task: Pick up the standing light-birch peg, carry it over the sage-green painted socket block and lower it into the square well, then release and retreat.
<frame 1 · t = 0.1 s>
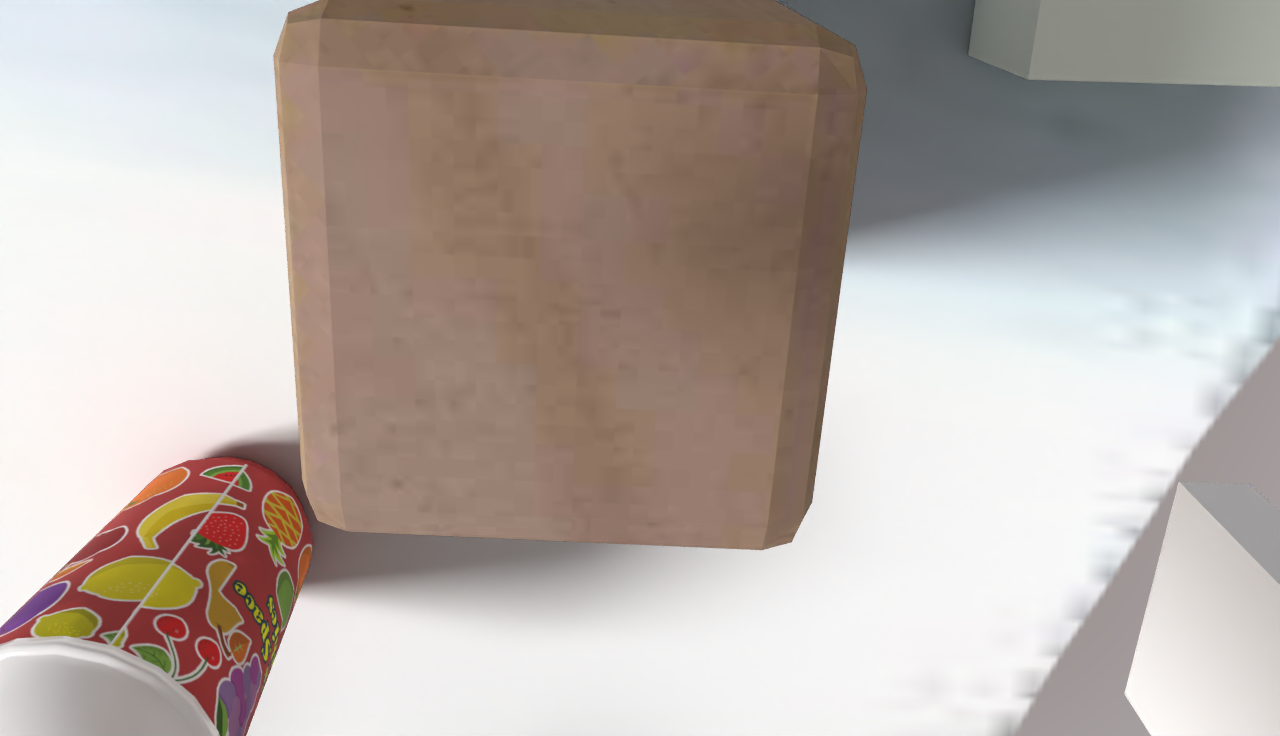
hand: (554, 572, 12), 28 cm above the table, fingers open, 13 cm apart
wooden block: (595, 119, 38), on the table
smoothie: (237, 516, 44), on the table
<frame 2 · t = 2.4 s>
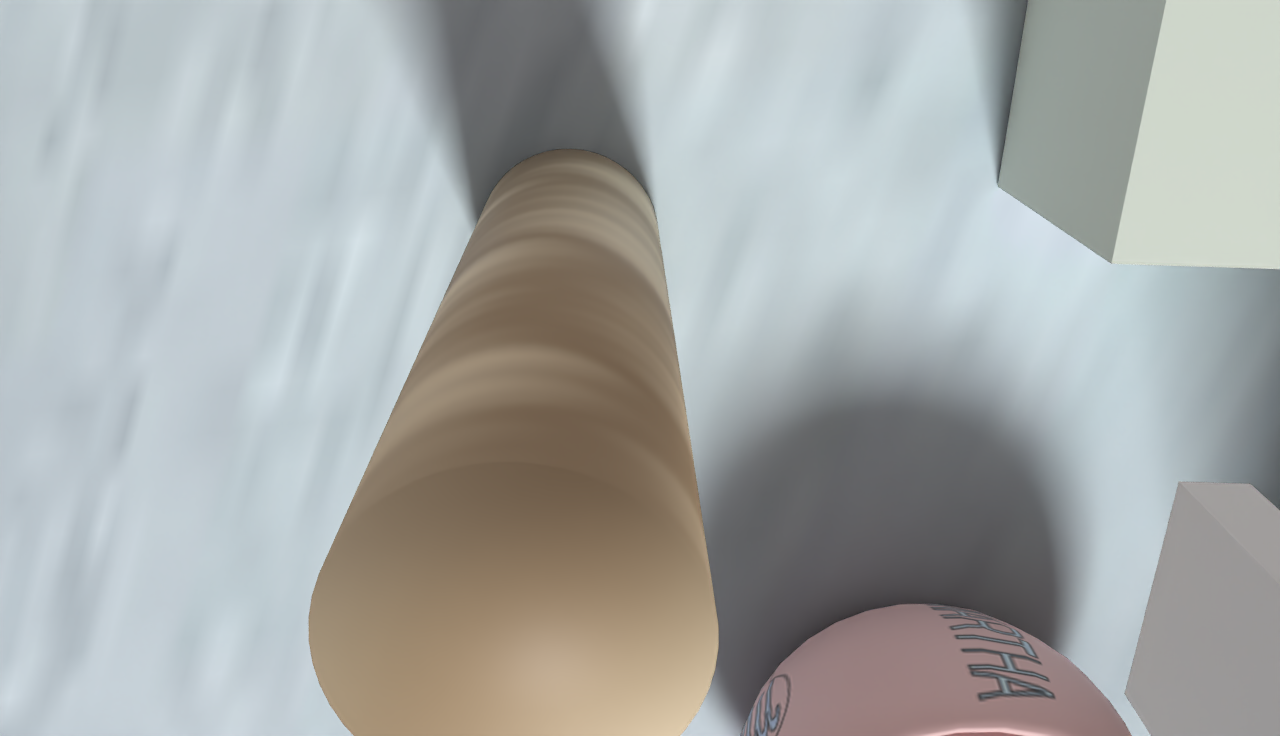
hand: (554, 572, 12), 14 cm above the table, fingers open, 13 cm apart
birch peg: (569, 237, 25), on the table
mug: (886, 734, 30), on the table
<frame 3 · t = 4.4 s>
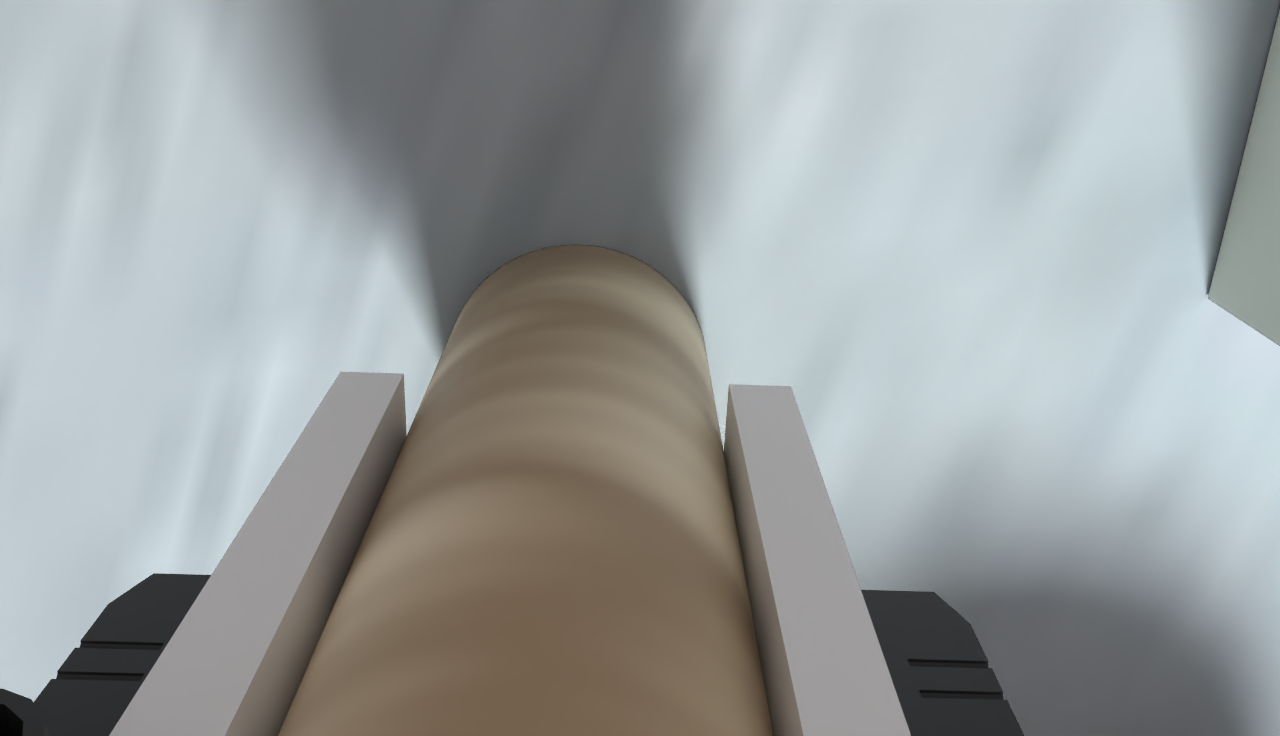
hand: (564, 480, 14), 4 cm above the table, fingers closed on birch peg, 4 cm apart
birch peg: (577, 369, 17), on the table, touching gripper
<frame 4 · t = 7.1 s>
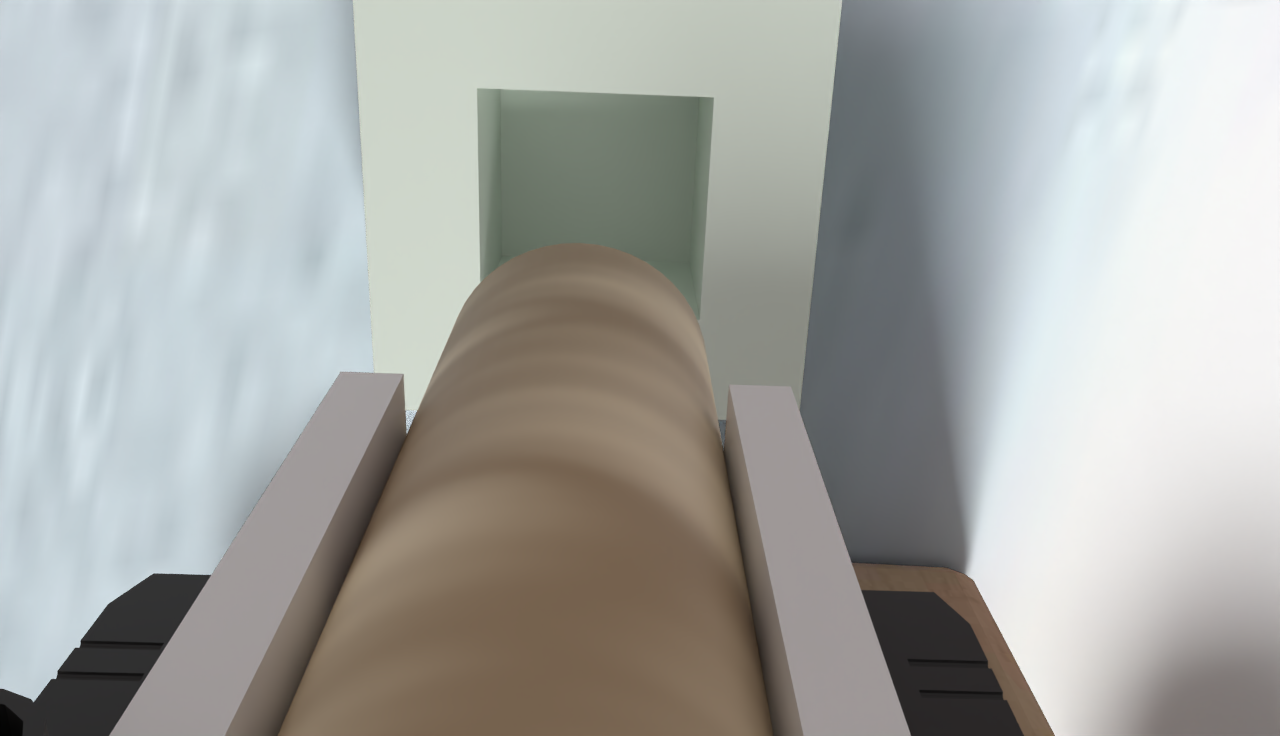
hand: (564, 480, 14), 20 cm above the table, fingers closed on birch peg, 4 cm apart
birch peg: (577, 367, 17), point 16 cm above the table, touching gripper
wooden block: (809, 666, 39), on the table
socket block: (599, 158, 32), on the table
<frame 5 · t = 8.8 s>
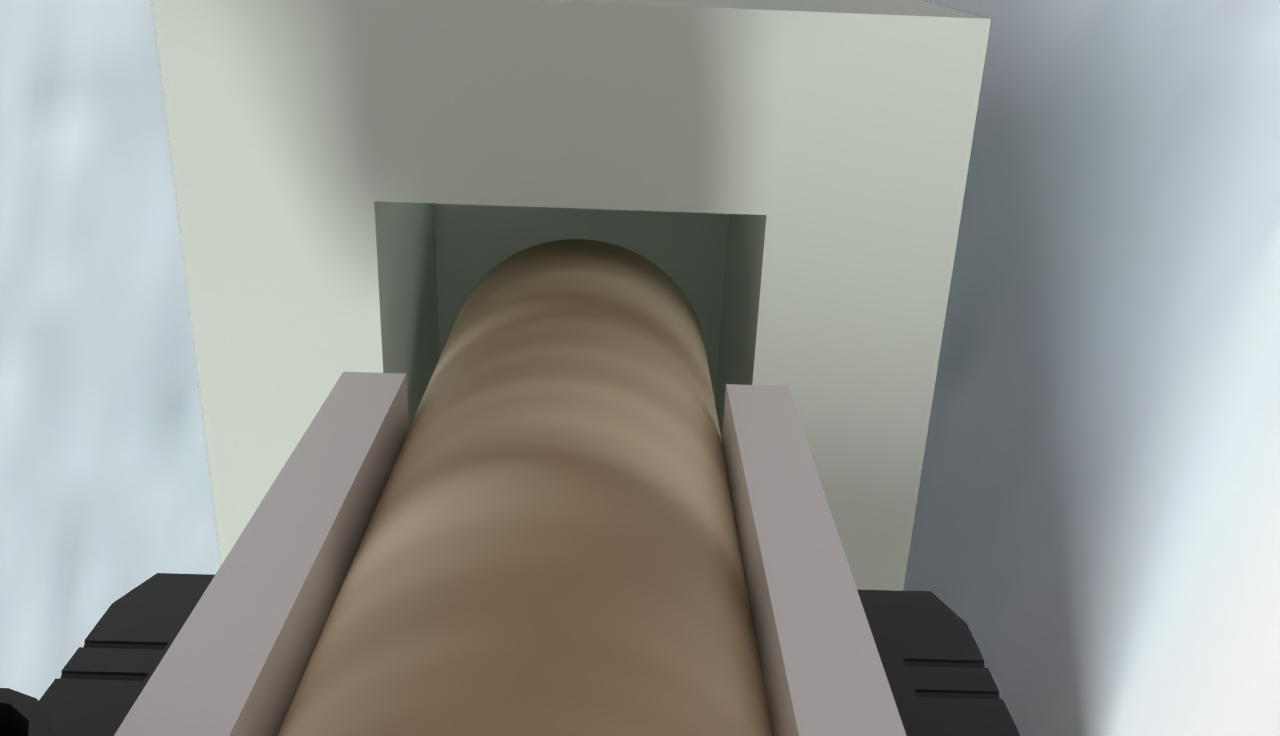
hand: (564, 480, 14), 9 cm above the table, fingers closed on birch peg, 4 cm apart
birch peg: (578, 362, 17), point 5 cm above the table, touching gripper
socket block: (582, 269, 22), on the table
when the fingers open (7 cm above the table, at t = 9.9 s): birch peg drops 2 cm, resting on socket block.
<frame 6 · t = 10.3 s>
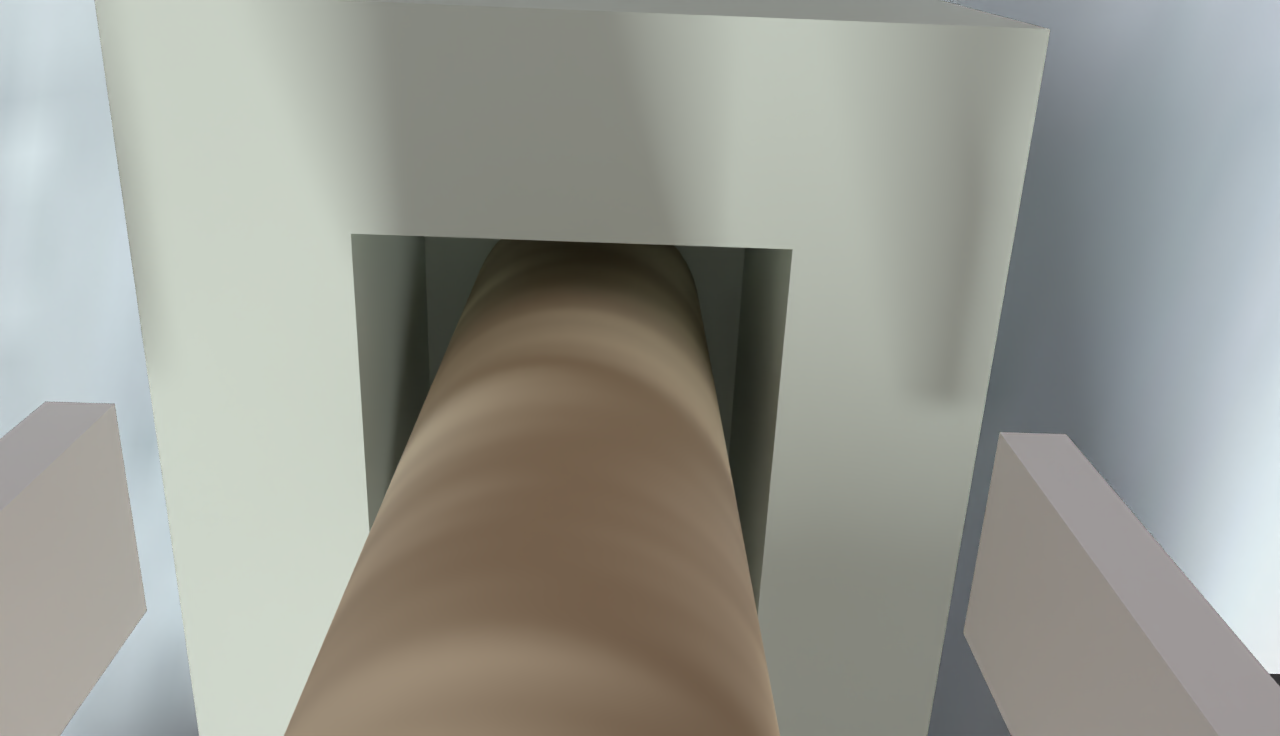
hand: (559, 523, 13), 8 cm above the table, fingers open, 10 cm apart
birch peg: (585, 315, 19), point 1 cm above the table, touching socket block
socket block: (585, 296, 20), on the table
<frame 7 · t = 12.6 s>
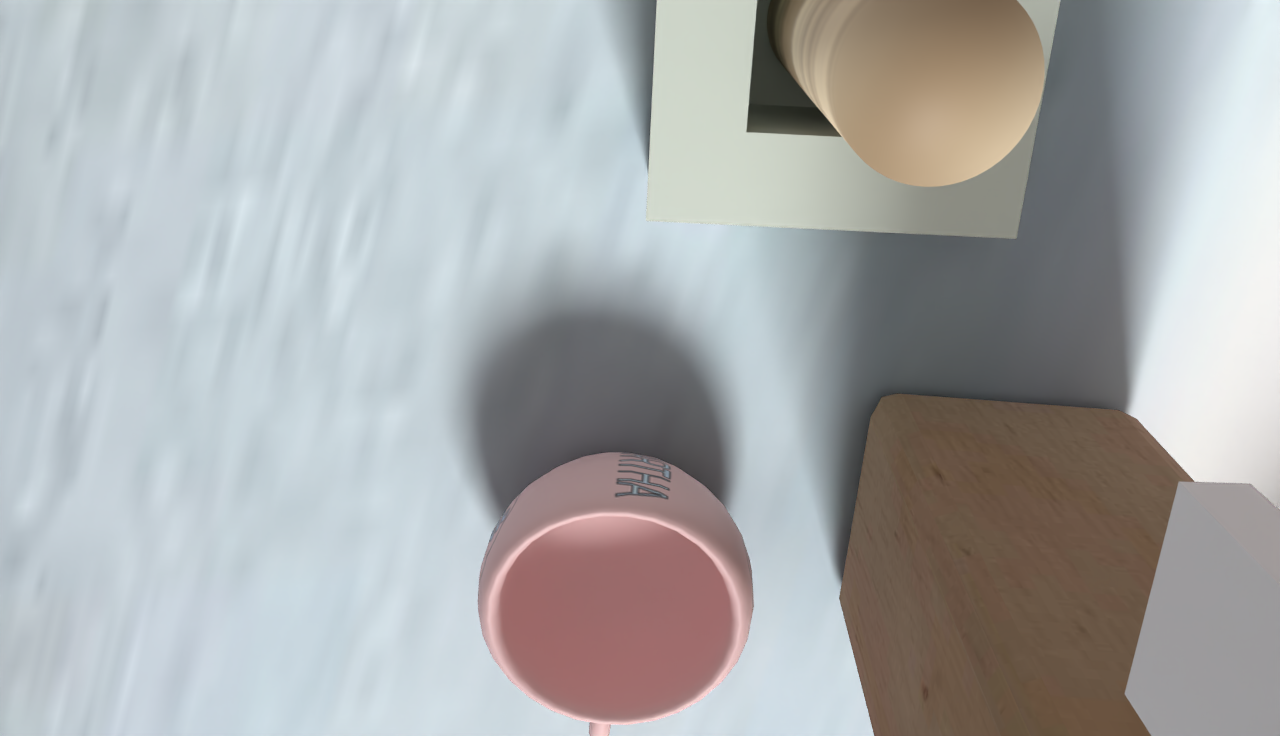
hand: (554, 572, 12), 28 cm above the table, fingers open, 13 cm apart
birch peg: (829, 20, 35), point 1 cm above the table, touching socket block
wooden block: (975, 504, 43), on the table
socket block: (824, 17, 36), on the table
mug: (617, 551, 44), on the table
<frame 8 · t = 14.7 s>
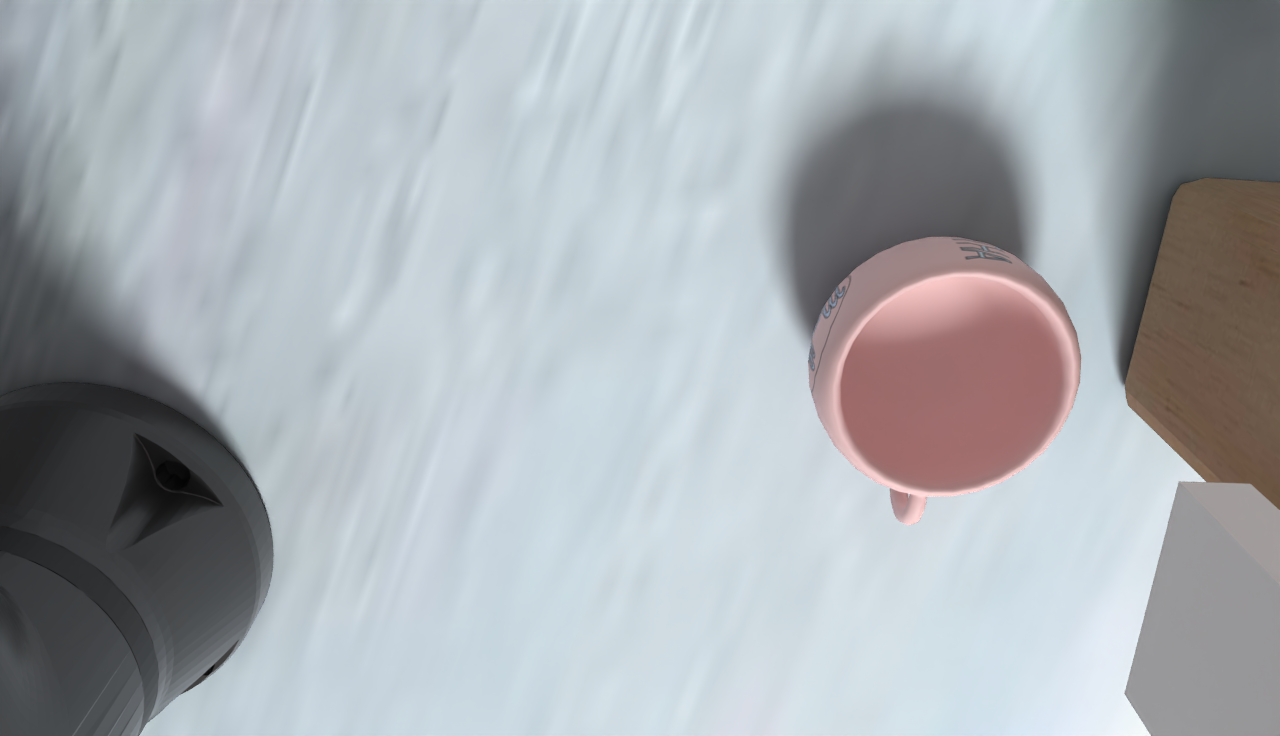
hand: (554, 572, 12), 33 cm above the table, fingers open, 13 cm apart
wooden block: (1254, 296, 45), on the table
mug: (909, 352, 46), on the table
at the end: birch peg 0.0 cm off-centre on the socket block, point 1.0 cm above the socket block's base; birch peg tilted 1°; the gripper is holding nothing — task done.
